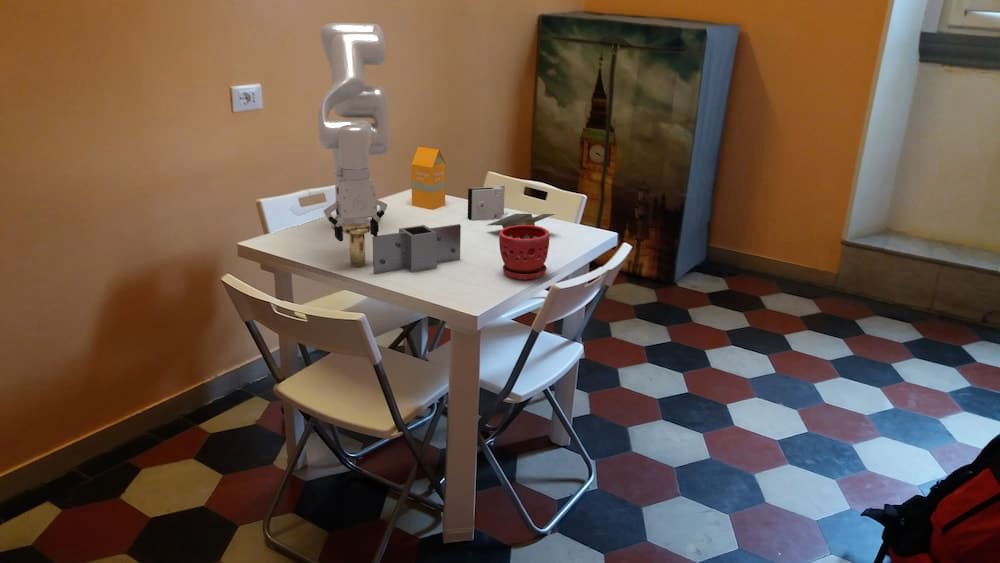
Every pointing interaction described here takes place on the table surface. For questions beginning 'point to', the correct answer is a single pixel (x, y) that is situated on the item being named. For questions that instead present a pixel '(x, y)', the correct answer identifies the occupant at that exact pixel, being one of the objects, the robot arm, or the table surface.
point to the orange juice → (428, 178)
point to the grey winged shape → (520, 220)
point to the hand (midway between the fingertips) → (357, 237)
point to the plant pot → (524, 251)
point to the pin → (357, 243)
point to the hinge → (486, 203)
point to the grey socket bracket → (416, 248)
